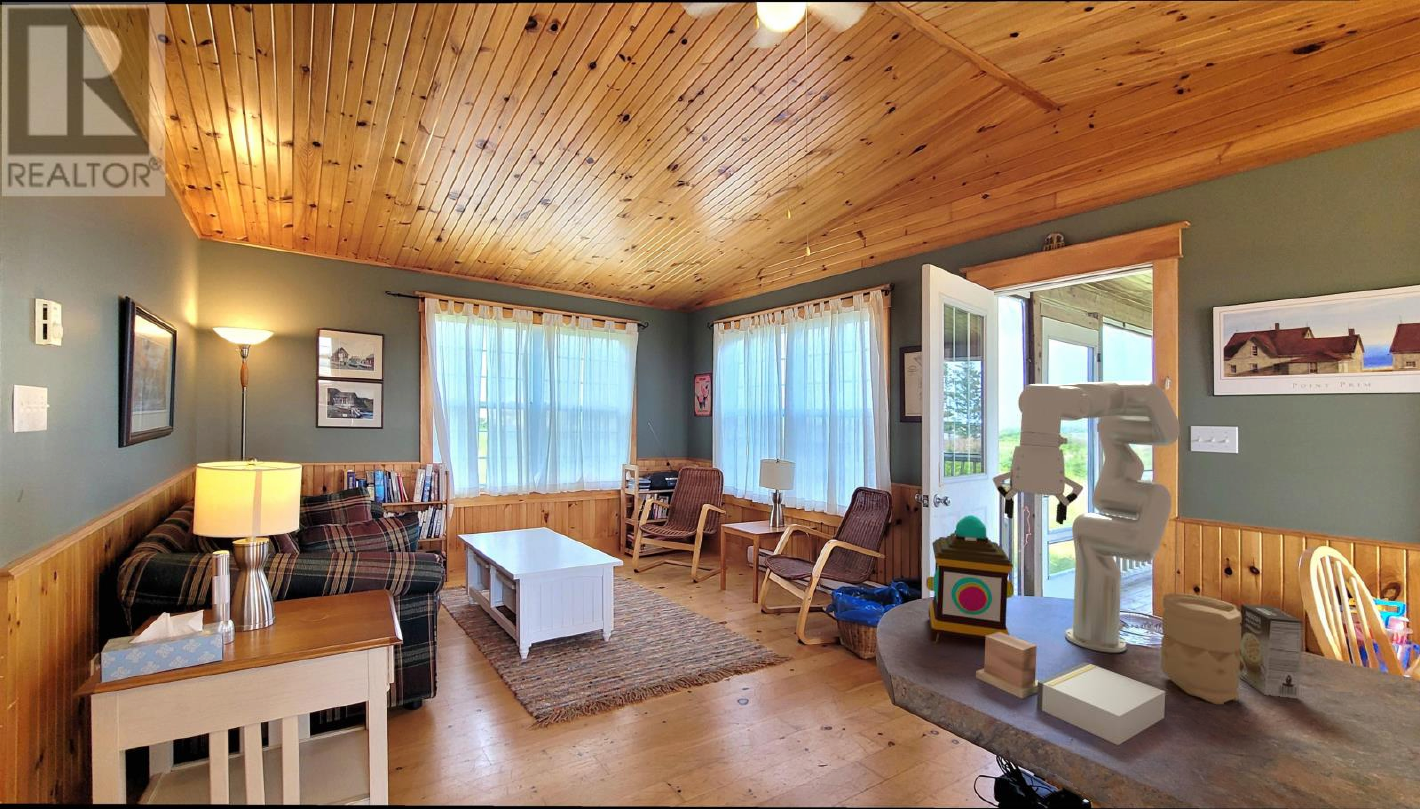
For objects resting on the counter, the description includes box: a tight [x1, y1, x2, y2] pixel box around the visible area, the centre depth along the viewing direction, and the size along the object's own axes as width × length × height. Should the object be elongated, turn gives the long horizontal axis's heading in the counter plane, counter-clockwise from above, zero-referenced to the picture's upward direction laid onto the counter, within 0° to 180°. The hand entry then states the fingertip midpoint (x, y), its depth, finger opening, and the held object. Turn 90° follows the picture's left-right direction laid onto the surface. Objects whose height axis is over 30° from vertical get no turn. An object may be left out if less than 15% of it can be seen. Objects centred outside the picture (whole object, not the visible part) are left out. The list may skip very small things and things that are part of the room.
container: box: [1160, 592, 1242, 705], centre depth 124 cm, size 13×13×18 cm
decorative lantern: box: [925, 514, 1014, 644], centre depth 149 cm, size 20×20×30 cm
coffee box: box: [1239, 603, 1304, 699], centre depth 127 cm, size 9×6×16 cm
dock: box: [1036, 661, 1166, 746], centre depth 114 cm, size 18×14×5 cm
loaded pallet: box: [975, 632, 1040, 699], centre depth 124 cm, size 8×10×9 cm
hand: (1034, 520), depth 130 cm, fingers open, 9 cm apart
